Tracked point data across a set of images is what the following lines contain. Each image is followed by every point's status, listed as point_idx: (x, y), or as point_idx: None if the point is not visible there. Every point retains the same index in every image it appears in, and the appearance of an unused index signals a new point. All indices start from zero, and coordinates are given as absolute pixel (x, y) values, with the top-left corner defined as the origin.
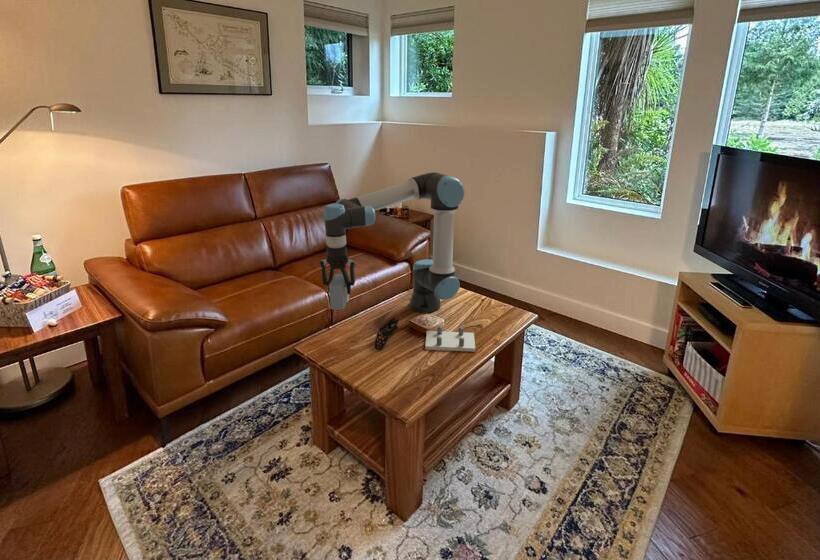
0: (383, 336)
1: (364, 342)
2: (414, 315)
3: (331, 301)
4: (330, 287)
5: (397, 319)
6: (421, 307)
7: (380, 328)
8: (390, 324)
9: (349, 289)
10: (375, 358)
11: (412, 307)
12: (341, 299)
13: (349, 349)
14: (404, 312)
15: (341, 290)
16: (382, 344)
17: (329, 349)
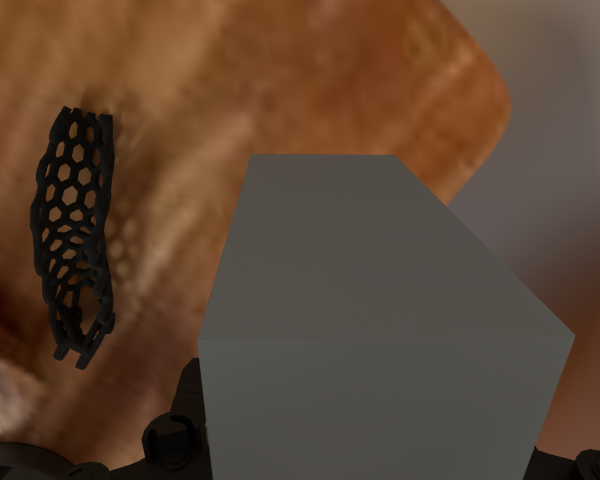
0: (86, 212)
1: (192, 184)
2: (38, 421)
3: (402, 183)
4: (502, 299)
5: (56, 356)
6: (3, 465)
7: (90, 243)
8: (92, 325)
9: (178, 408)
10: (81, 16)
11: (57, 467)
12: (257, 193)
13: (252, 106)
14: (90, 438)
15: (231, 264)
16: (57, 122)
17: (359, 98)
